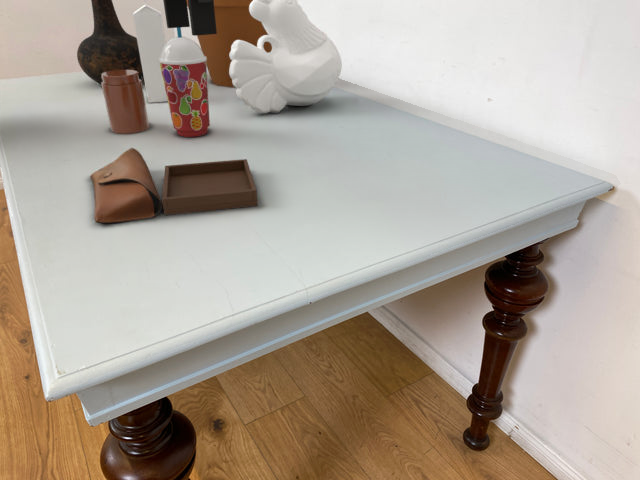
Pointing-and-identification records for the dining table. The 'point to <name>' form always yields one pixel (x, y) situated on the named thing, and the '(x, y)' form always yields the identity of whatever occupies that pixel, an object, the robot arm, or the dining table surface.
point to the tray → (208, 187)
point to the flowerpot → (229, 37)
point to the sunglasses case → (125, 190)
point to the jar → (124, 101)
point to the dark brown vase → (108, 45)
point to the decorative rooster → (284, 60)
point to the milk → (151, 50)
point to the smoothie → (186, 85)
